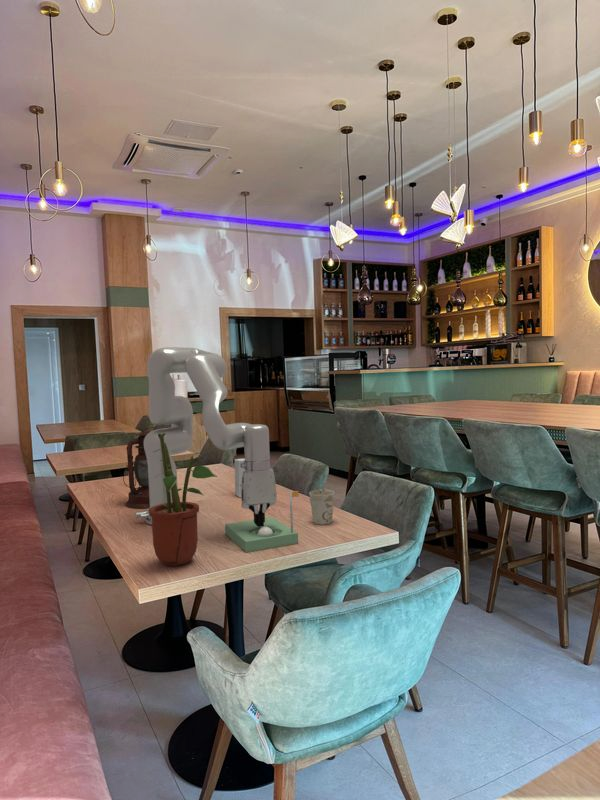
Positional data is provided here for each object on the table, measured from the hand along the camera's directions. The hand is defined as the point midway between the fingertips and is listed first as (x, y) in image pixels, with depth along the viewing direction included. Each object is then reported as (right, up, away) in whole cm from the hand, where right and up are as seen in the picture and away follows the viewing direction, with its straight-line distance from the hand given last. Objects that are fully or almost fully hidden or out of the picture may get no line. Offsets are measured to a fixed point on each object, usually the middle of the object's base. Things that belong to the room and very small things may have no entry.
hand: (259, 525), depth 168 cm
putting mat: (0, -4, 0) cm, 4 cm away
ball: (+2, -2, -4) cm, 5 cm away
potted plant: (-19, -6, -17) cm, 26 cm away
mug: (+19, -3, +17) cm, 25 cm away
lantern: (-46, -2, +49) cm, 67 cm away
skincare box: (-9, -1, +57) cm, 58 cm away
